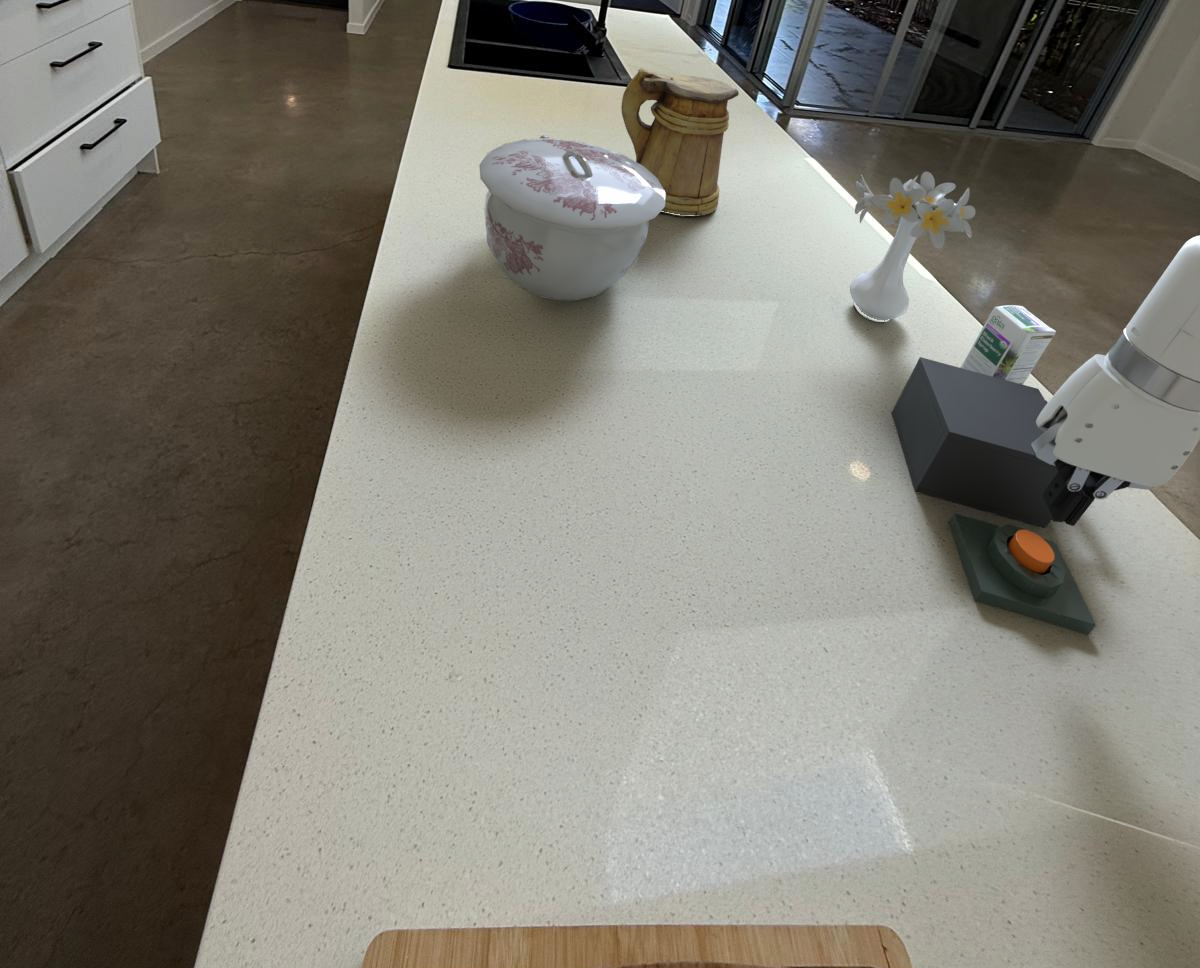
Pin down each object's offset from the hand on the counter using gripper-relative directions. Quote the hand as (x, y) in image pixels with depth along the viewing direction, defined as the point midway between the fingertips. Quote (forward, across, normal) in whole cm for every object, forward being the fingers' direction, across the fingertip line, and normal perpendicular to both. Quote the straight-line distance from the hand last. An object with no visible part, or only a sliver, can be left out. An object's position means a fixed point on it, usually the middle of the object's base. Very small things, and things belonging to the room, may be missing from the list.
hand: (1056, 510), depth 64 cm
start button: (+7, 0, 0) cm, 7 cm away
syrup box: (+10, -6, -29) cm, 31 cm away
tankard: (+11, +45, -68) cm, 82 cm away
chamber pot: (+11, +58, -32) cm, 67 cm away
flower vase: (+10, +7, -44) cm, 46 cm away
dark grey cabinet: (+10, +1, -14) cm, 17 cm away
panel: (+10, 0, 0) cm, 10 cm away
